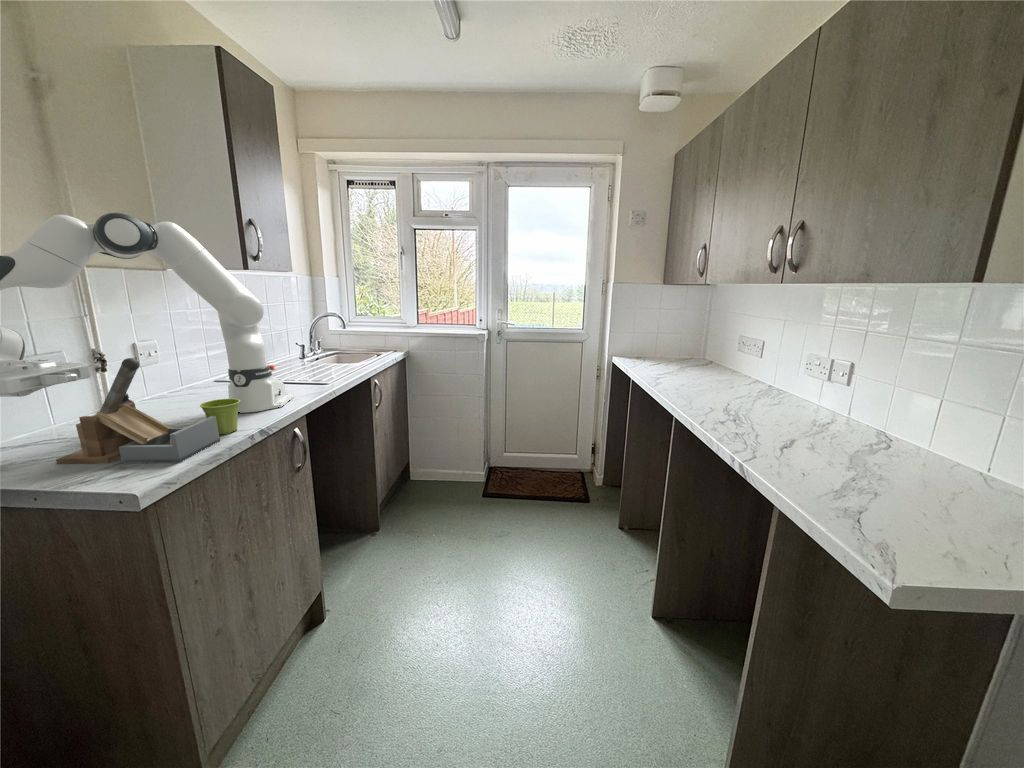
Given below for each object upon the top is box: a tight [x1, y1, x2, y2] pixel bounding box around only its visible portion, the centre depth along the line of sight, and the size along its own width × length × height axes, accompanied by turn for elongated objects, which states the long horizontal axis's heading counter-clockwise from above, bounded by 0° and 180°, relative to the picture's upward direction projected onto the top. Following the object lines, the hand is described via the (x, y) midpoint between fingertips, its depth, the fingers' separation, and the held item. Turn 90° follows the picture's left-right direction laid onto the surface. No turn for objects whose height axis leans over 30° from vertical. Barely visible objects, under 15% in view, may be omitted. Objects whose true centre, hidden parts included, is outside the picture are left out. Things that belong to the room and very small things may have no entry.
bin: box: [119, 416, 221, 464], centre depth 104 cm, size 14×14×7 cm
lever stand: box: [55, 404, 136, 465], centre depth 103 cm, size 14×12×11 cm
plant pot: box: [199, 398, 240, 435], centre depth 118 cm, size 9×9×9 cm
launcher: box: [93, 357, 172, 445], centre depth 102 cm, size 9×14×17 cm
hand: (72, 378), depth 100 cm, fingers closed
